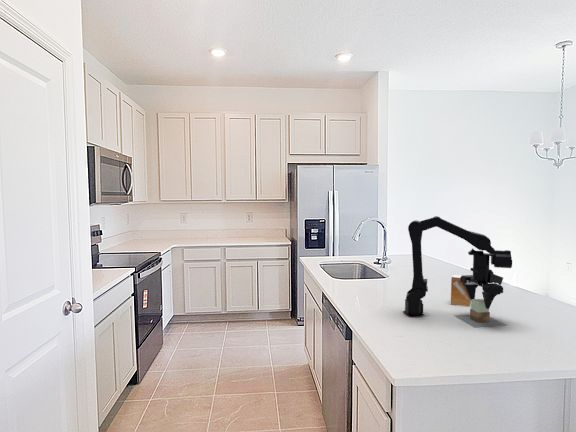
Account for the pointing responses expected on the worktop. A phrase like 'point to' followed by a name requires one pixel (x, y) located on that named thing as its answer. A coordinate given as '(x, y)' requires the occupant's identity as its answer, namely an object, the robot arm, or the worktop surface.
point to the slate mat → (474, 324)
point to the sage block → (478, 305)
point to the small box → (458, 292)
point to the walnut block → (479, 316)
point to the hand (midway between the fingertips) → (479, 305)
